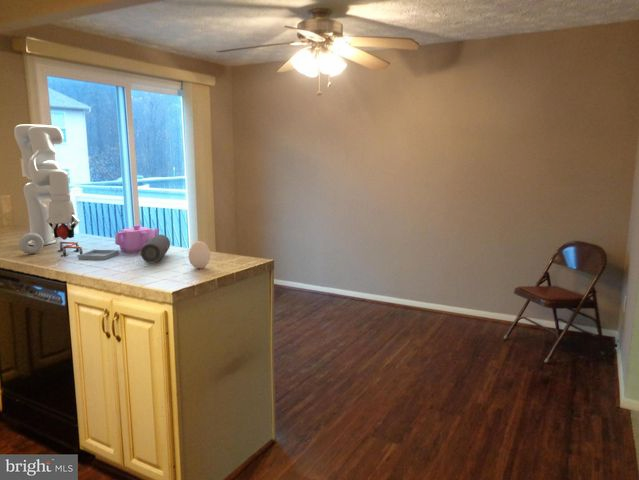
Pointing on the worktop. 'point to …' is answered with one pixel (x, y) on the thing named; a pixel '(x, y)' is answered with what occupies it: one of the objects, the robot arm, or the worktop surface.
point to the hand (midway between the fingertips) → (64, 237)
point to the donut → (26, 238)
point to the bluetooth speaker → (155, 248)
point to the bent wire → (63, 248)
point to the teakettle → (134, 238)
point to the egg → (199, 254)
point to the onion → (62, 231)
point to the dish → (98, 254)
